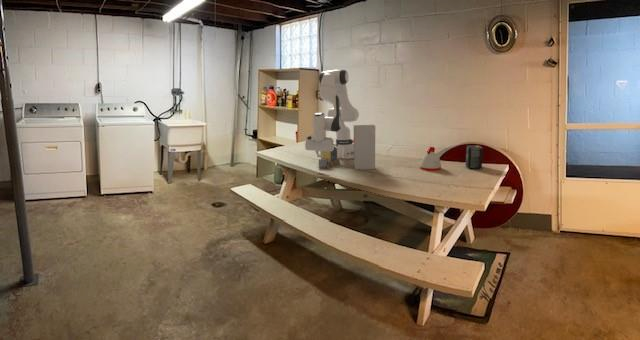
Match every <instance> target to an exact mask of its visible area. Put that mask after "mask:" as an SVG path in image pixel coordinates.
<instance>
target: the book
mask: <svg viewBox="0 0 640 340" xmlns="http://www.w3.org/2000/svg"><path fill="white" fill-rule="evenodd" d="M320 158H323V159H328V163H330V162H331V153H330V151H324V152H323V154H322V157H320Z"/></svg>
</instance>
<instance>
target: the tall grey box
mask: <svg viewBox="0 0 640 340" xmlns="http://www.w3.org/2000/svg"><path fill="white" fill-rule="evenodd" d="M353 140H354V143H353V144H354V158H353V169H354V170H355V171H356V170H358V169H360V170H376V125H375V124H357V125H356V124H355V125H354V124H353Z"/></svg>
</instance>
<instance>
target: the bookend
mask: <svg viewBox="0 0 640 340" xmlns="http://www.w3.org/2000/svg"><path fill="white" fill-rule="evenodd" d="M327 164H328V159H323V158H321V157H319V158H318V166H319V169H328V168H327Z"/></svg>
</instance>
